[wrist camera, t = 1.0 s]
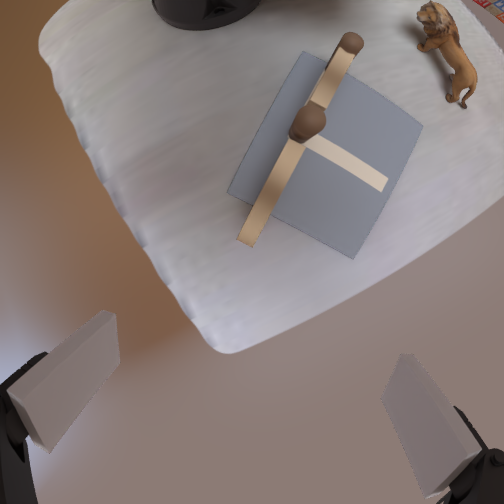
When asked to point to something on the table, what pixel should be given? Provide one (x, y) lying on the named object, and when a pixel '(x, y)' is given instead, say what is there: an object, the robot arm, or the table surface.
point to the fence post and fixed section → (325, 90)
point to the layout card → (331, 158)
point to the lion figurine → (447, 48)
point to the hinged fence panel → (271, 192)
